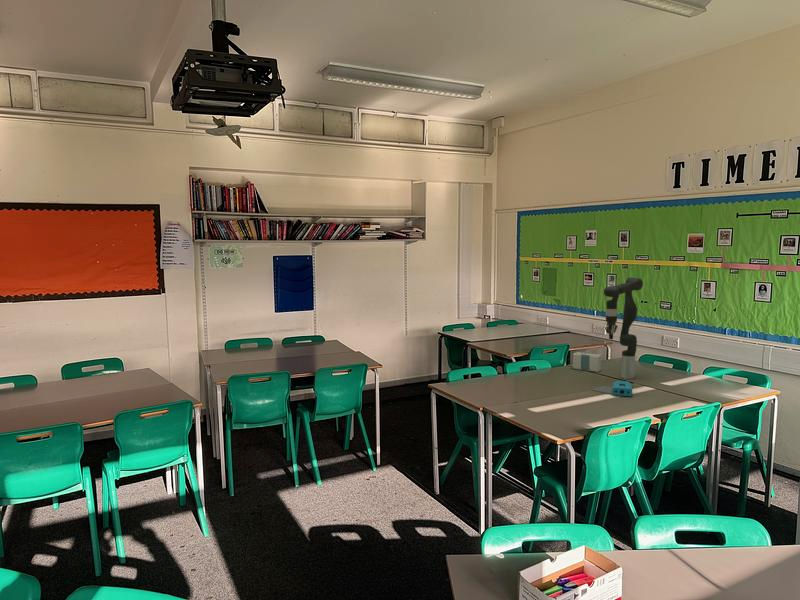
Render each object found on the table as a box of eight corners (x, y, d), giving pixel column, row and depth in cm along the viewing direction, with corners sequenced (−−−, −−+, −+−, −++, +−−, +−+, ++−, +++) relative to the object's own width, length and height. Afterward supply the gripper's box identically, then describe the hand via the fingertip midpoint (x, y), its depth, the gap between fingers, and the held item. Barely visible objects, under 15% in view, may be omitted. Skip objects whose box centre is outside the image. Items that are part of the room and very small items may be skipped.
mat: (604, 386, 392) (604, 385, 392) (627, 391, 378) (627, 390, 378) (591, 390, 384) (591, 389, 384) (615, 395, 369) (615, 394, 369)
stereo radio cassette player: (572, 369, 446) (572, 345, 444) (576, 367, 452) (576, 343, 450) (598, 373, 433) (598, 347, 431) (601, 371, 439) (602, 346, 437)
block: (631, 381, 382) (632, 389, 364) (631, 388, 383) (631, 396, 364) (613, 380, 387) (612, 387, 368) (613, 387, 387) (612, 394, 369)
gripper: (612, 313, 400) (611, 337, 402) (601, 315, 392) (600, 339, 394) (621, 314, 394) (621, 338, 396) (610, 316, 386) (610, 340, 388)
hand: (611, 339), depth 395 cm, fingers closed
